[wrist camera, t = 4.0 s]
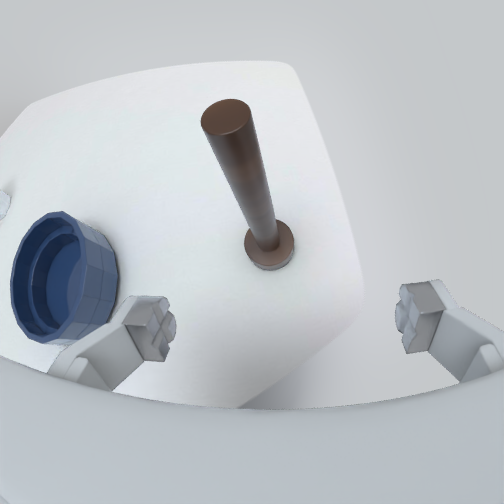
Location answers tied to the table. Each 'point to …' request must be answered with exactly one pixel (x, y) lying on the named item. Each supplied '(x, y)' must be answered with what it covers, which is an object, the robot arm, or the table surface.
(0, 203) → the cup
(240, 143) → the stick
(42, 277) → the bowl
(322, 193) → the table surface
